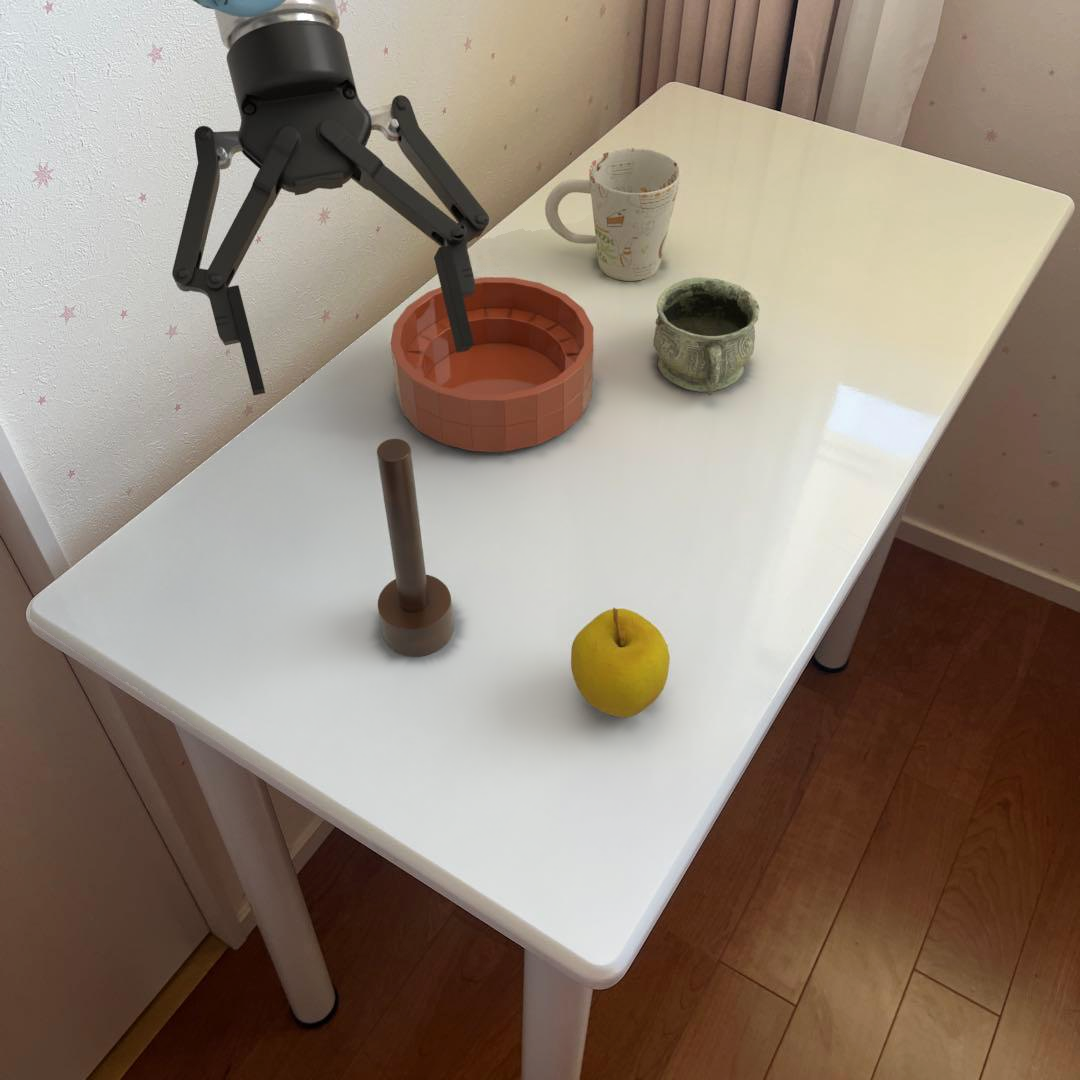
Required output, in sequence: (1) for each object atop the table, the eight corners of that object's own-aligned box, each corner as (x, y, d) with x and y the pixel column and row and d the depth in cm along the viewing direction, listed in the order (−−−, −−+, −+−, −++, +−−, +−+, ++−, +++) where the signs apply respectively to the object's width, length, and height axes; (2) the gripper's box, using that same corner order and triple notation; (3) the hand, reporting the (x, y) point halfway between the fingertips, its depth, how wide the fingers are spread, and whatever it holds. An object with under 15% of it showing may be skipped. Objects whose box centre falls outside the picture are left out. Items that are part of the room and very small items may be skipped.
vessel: (643, 326, 101) (648, 267, 97) (738, 323, 102) (747, 264, 97) (659, 411, 93) (665, 351, 89) (763, 407, 94) (774, 347, 89)
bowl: (387, 455, 90) (379, 398, 85) (409, 331, 101) (403, 275, 97) (591, 458, 89) (594, 401, 85) (590, 334, 101) (592, 278, 96)
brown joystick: (378, 656, 76) (345, 478, 63) (386, 600, 79) (357, 420, 67) (450, 657, 76) (431, 479, 63) (456, 601, 79) (439, 422, 67)
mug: (667, 292, 105) (677, 196, 98) (537, 280, 106) (537, 186, 99) (674, 244, 111) (683, 150, 103) (550, 234, 112) (551, 141, 105)
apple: (600, 646, 76) (604, 569, 71) (681, 687, 74) (693, 612, 68) (550, 710, 73) (550, 636, 67) (634, 756, 70) (642, 683, 65)
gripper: (463, 39, 76) (534, 340, 78) (90, 94, 71) (173, 416, 72) (482, -13, 69) (560, 321, 70) (68, 44, 64) (160, 404, 65)
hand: (364, 370), depth 71 cm, fingers open, 13 cm apart
